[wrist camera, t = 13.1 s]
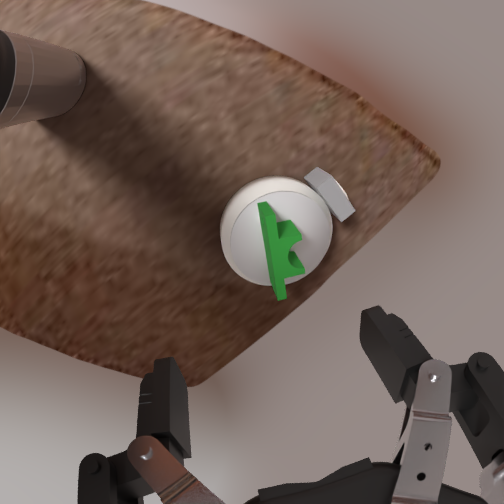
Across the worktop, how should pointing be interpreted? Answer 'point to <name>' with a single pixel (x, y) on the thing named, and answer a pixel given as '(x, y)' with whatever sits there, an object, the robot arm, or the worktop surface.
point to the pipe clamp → (279, 249)
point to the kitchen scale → (285, 208)
